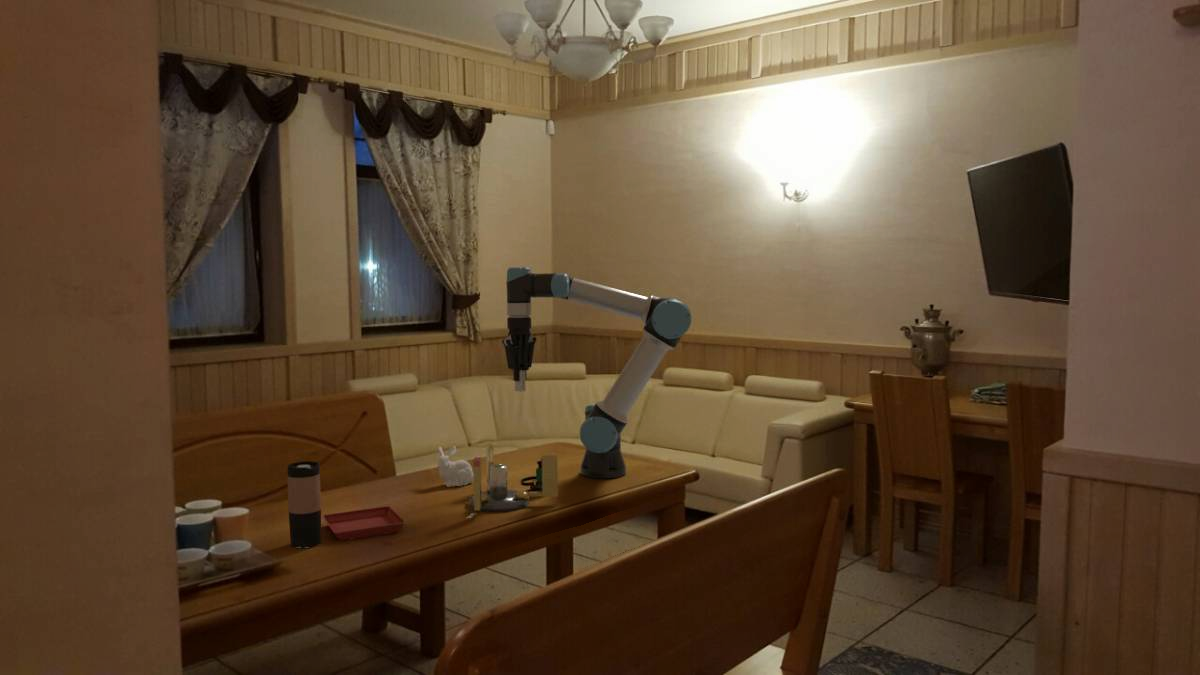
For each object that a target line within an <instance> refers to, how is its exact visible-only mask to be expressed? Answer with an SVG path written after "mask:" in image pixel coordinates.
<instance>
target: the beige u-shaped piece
mask: <svg viewBox="0 0 1200 675" xmlns="http://www.w3.org/2000/svg"><path fill="white" fill-rule="evenodd" d="M472 468H473V473H474V481H473V494H474V496H473V502H474V509H473V510H474V511H479V510H480V509H481V506H482V503H485V502H487V501H488V495H486V494H481V492H482V457H481V456H480V457H474V458H473V460H472Z"/></svg>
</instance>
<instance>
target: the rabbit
mask: <svg viewBox="0 0 1200 675" xmlns="http://www.w3.org/2000/svg"><path fill="white" fill-rule="evenodd" d="M437 450H438V453H439V457H438V462H437V467H438V468H439V469H438V474H439V476H440V477H441V479H443V480H446V481H445V482H443V484H442V486H444V485H446V486H447V488H451V486H452V487H455V486H458V487H463V485H464V486H467V485H468V484H470V483H472V482H474V472H473V467H472V465H471V464H470V463H469V462H468V461H466V460H463V459H459V460H455V461H450V460H449V458H450V457H452V456H453V455H455V454H456V453H457V446H455V445H453V446H452V447H451V448H450V449H449V450H448V451H447V453H446V454H445V453H444V451H443V448H442V447H441V446H439V447H438V448H437ZM446 486H445V487H446Z"/></svg>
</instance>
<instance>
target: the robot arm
mask: <svg viewBox="0 0 1200 675" xmlns="http://www.w3.org/2000/svg"><path fill="white" fill-rule="evenodd" d="M505 284H506V303H507V304H506V307H507V308H506V310H507V311H506V312H507V313H506V314H507V316H509V317H507V319H506V320H507V322H506V323H507V329H508V334H507V337H506V338H504V339H501V343H502V344H503V348H504V351H505V356H506V363H507V367H508V368H507V369H509V370H510V371H513V381H514V392H526V390H527V389H526V386H527V385H526V381H527V378H528V377H527V371H529V370H530V368H531V367H532V364H533V356H534V349H535V344H536V342H537V337H536V336H534V337H533V335H531V331H530V329H531V328H532V318H531V315H532V298H555V299H558V298H559V299H563V300H567V301H570V302H575V303H577V304H581V305H585V306H586V305H587V306H589V307H592V308H598V309H600V310H604V311H608V312H612V313H615V314H619V315H622V316H627V317H630V318H634V319H637V320H639V321H640V320H641V321H642V322H643V324H644V327H643V328H642V332H643V337H642V338H641V339H640V342H639V344H638V345H637V347H636V348H635V349H634V352H633V353H632V354H631V356H630V358H629V359H628V361H627V363H626V364H625V366H624V367H623V368H622V371H621V372H620V373H619V375H618V376H617V378H616V380H615V382H614V383H613V385H612V386H611V388H610V389H609V391H608V392H607V394H606V395H605V397H604V399H603V400H600V401H596V403H595V404H588V405H586V406H585V407H584V408H585V409H584V416H585V417H584V421H583V423H582V424H581V425H580V428H579V438H580V442H581V443H582V445H583V447H585V451H584V454H583V459H582V461H581V465H580V475H581V474H582V475H581V476H583V477H585V476H586V477H585V478H590V477H591V478H590V479H614V478H615V479H616V478H620V477H624V476H625V475H626V474H627V466H626V463H625V459H624V456H623V453H622V451H621V450H622V448H621V447H622V446H621V442H622V441H621V435H622V434H621V433H622V432H623V430H624V429H625V427H626V425H627V424H628V422H629V420H628V413H629V412H630V410H631V408H632V407H633V406H634V404H635V402H636V401H637V399H638V398H639V396H640V395H641V393H642V392H643V390H644V389H645V387H646V386H647V384H648V382H649V380H650V378H652V376H653V374H654V373H655V371H656V369H657V368H658V367H659V365H660V364H661V362H662V361H663V359H664V357H665V355H667V352H668V351H671V350H675V348H676V347H677V345H678V344H679V342H680V341H681V339H682V337H683V336H684V335H685V334H686V333H687V332H688V330H689V329H690V327H691V324H692V314H691V311H690V309H689V306H687V304H685V303H684V302H683V301H682V300H680V299H677V298H671V297H660V296H656V295H652V294H651V295H650V296H643V295H639V294H636V293H633V292H629V291H625V290H621V289H617V288H613V287H611V286H606V285H604V284H599V283H595V282H590V281H587V280H583V279H580V278H576V277H572V276H569V275H568V274H567V273H561V272H554V273H552V272H551V273H532V271H531V268H530V267H509V268H508V269H507V271H506V282H505Z"/></svg>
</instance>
